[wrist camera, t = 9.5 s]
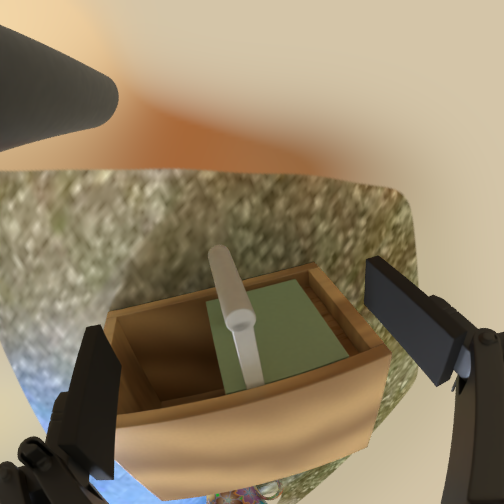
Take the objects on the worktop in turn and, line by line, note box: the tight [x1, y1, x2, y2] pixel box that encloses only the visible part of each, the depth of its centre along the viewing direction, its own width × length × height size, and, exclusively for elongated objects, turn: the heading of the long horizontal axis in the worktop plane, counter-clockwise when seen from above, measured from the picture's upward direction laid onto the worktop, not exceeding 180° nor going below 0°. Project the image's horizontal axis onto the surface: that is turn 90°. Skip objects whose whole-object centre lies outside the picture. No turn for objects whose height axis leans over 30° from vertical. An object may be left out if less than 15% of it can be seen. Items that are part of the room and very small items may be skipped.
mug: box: [206, 479, 283, 504], centre depth 33 cm, size 12×9×11 cm
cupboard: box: [104, 262, 392, 501], centre depth 23 cm, size 12×18×12 cm
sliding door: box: [206, 245, 349, 395], centre depth 19 cm, size 6×7×10 cm
